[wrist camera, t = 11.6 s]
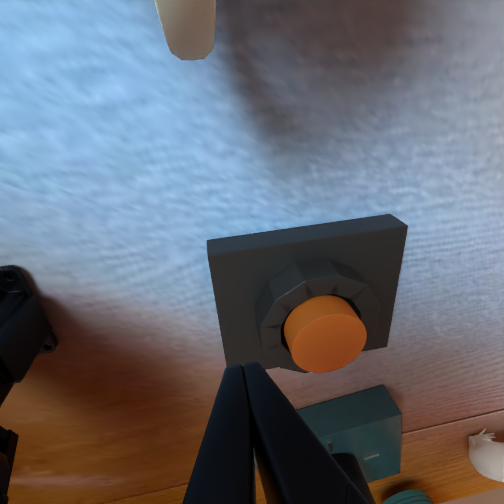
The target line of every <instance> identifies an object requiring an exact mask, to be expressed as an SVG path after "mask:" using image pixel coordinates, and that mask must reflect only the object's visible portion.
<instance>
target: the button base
mask: <svg viewBox="0 0 504 504" xmlns="http://www.w3.org/2000/svg"><path fill="white" fill-rule="evenodd" d="M407 228H408V226H407V225H406V224H404V223H403V222H402V221H400V220H399V219H397V218H396V217H394V216H393V215H391V214H386V215H379V216H372V217H365V218H358V219H351V220H344V221H337V222H330V223H323V224H316V225H309V226H302V227H295V228H288V229H281V230H274V231H267V232H260V233H253V234H246V235H239V236H232V237H225V238H218V239H211V240H207V254H208V261H209V267H210V273H211V278H212V284H213V290H214V296H215V301H216V307H217V313H218V319H219V325H220V330H221V336H222V342H223V348H224V353H225V359H226V365H227V366H232V365H238V364H240V365H241V366H243V364H245V363H250V362H258V363H259V364H260V365H261V366H262V367H263V369H264V370H265V369H271V368H276V367H280V368H284V369H288V370H293V371H298V372H302V373H308V372H309V371H306V370H303V369H302V368H300V367H299V366H298V365H297V364H296V363H295V362H294V360H293V358H292V355H291V352H290V350H289V347H288V344H287V341H286V338H285V335H284V326H285V322H286V319H287V318H288V316H289V314H290V313H291V312H292V311H293V309H294V308H296V307H297V306H298V305H300V304H301V303H303V302H304V301H306V300H308V299H310V298H313V297H317V296H323V295H331V296H336V297H339V298H342V299H344V300H345V301H346V302H348V303H349V305H350V306H351V307H352V309H353V310H354V312H355V313H356V314H357V316H358V317H359V319H360V320H361V322H362V323H363V325H364V326H365V329H366V334H367V338H366V343H365V345H364V347H363V349H362V351H367V350H372V349H378V348H383V347H387V343H388V337H389V332H390V326H391V320H392V314H393V309H394V303H395V297H396V291H397V286H398V280H399V274H400V269H401V263H402V257H403V251H404V246H405V240H406V234H407ZM362 351H361V352H362Z"/></svg>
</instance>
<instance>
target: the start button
mask: <svg viewBox="0 0 504 504" xmlns="http://www.w3.org/2000/svg"><path fill="white" fill-rule="evenodd" d="M284 335H285V338H286V341H287V344H288V347H289V350H290V352H291V355H292V358H293V360H294V362H295V363H296V364H297V365H298V366H299V367H300V368H302V369H303V370H306V371H309V372H314V373H324V372H330V371H334V370H337V369H339V368H342V367H343V366H345V365H347V364H349V363H350V362H351V361H353V360H354V359H355V358H356V357H357V356H358V355H359V354H360V352H361V351H362V349H363V347H364V345H365V343H366V338H367V334H366V329H365V326H364V325H363V323H362V322H361V320H360V319H359V317H358V316H357V314H356V313H355V312H354V310H353V309H352V307H351V306H350V305H349V303H348V302H346V301H345V300H344V299H342V298H339V297H336V296H331V295H323V296H317V297H313V298H310V299H308V300H306V301H304V302H303V303H301V304H300V305H298V306H297V307H296V308H294V309H293V311H292V312H291V313H290V314H289V316H288V318H287V319H286V322H285V326H284Z"/></svg>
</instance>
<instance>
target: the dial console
mask: <svg viewBox="0 0 504 504" xmlns="http://www.w3.org/2000/svg"><path fill="white" fill-rule="evenodd" d="M296 411H297V412H298V413H299V415H300V416H301V417H302V418H303V420H304V421H305V422H306V424H307V425H308V426H309V427H310V429H311V430H312V431H313V433H314V434H315V435H316V436H317V438H318V439H319V440H320V442H321V443H322V444H323V445H324V447H325V448H326V449H327V450H328V452H329V453H330V454H331V455H333V454H337V453H348V454H352V455H353V456H355V457H356V459H357V461H358V463H359V466H360V468H361V470H362V473H363V475H364V477H365V480H366V482H367V483H369V482H372V481H375V480H378V479H382V478H385V477H388V476H392V475H395V474H398V473H400V461H401V429H402V413H401V412H400V410H399V408H398V407H397V405H396V404H395V402H394V400H393V399H392V397H391V396H390V394H389V392H388V391H387V389H386V388H385V386H384V385H380V386H377V387H374V388H370V389H367V390H363V391H360V392H357V393H353V394H350V395H346V396H343V397H339V398H336V399H333V400H329V401H326V402H322V403H319V404H316V405H312V406H309V407H305V408H302V409H299V410H296ZM253 451H254V448H253ZM254 462H255V464H256V467H257V463H256V459H255V454H254ZM257 469H258V467H257ZM258 472H259V471H258Z"/></svg>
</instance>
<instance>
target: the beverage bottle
mask: <svg viewBox="0 0 504 504" xmlns="http://www.w3.org/2000/svg"><path fill="white" fill-rule="evenodd" d="M432 503H433V501H432V502H431V500H430V497H428V495H427V494H426V493H425V492H424V491H423V490H419V489H411V490H406V491H402V492H399V493H397V494H395V495H393V496H391V497H389V498H388V499H387V500H385V501H384V502H383V503H382V504H432ZM433 504H434V503H433Z"/></svg>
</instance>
